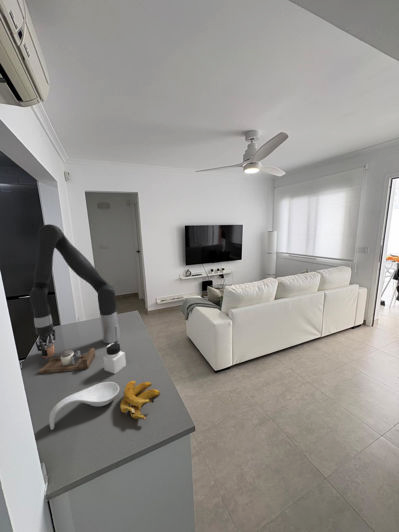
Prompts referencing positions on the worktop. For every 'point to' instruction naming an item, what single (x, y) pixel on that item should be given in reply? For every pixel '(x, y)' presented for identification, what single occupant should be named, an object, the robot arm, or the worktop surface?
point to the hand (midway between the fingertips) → (48, 352)
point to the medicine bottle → (114, 358)
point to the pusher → (76, 358)
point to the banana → (137, 398)
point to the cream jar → (67, 358)
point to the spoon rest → (88, 398)
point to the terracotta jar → (50, 350)
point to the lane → (56, 366)
